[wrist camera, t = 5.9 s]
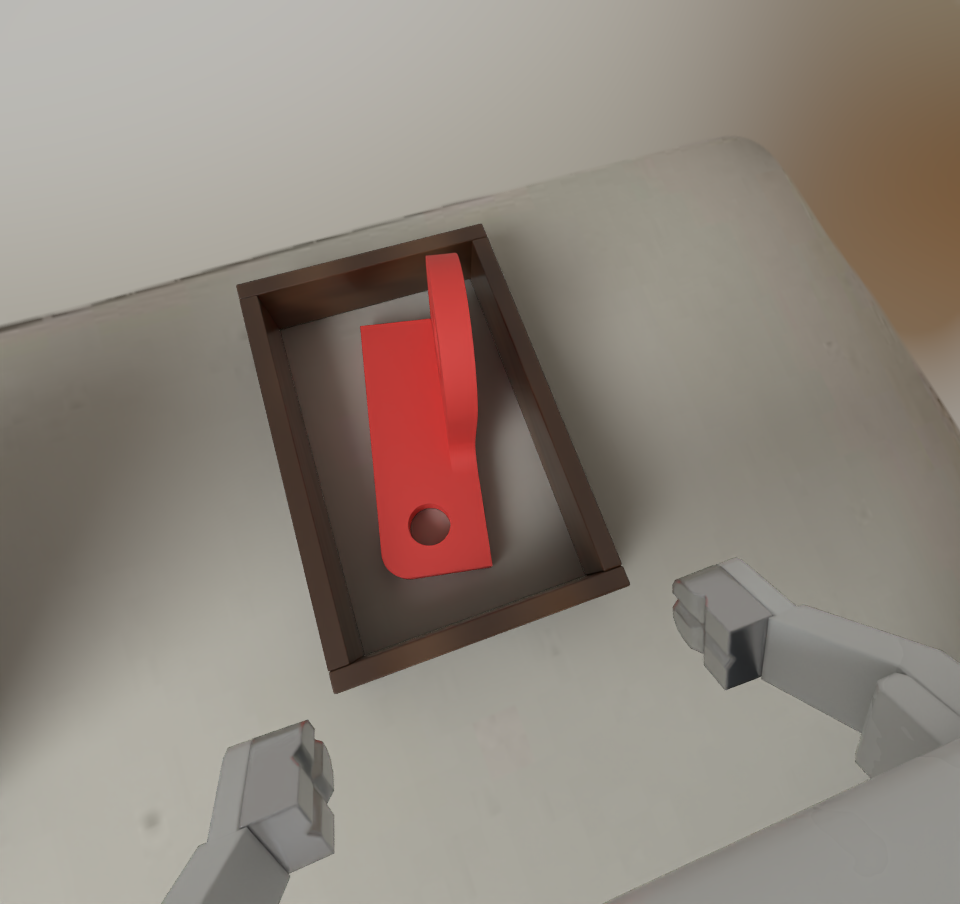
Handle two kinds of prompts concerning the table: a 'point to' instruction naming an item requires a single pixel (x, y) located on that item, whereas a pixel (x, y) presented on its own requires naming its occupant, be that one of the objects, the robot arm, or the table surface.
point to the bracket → (427, 429)
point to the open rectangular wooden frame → (264, 316)
